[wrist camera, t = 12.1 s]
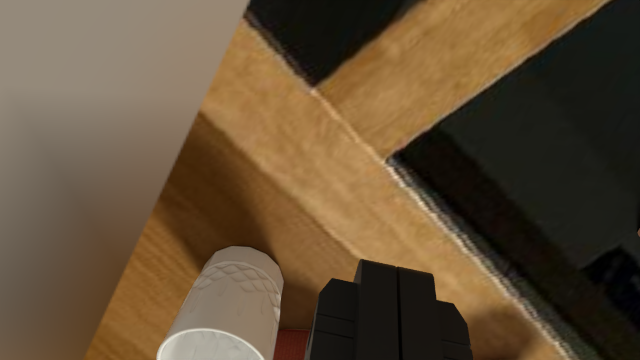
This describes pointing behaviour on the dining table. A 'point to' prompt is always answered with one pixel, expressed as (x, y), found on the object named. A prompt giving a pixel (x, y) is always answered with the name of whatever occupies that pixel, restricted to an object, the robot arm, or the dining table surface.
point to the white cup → (228, 310)
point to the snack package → (291, 344)
